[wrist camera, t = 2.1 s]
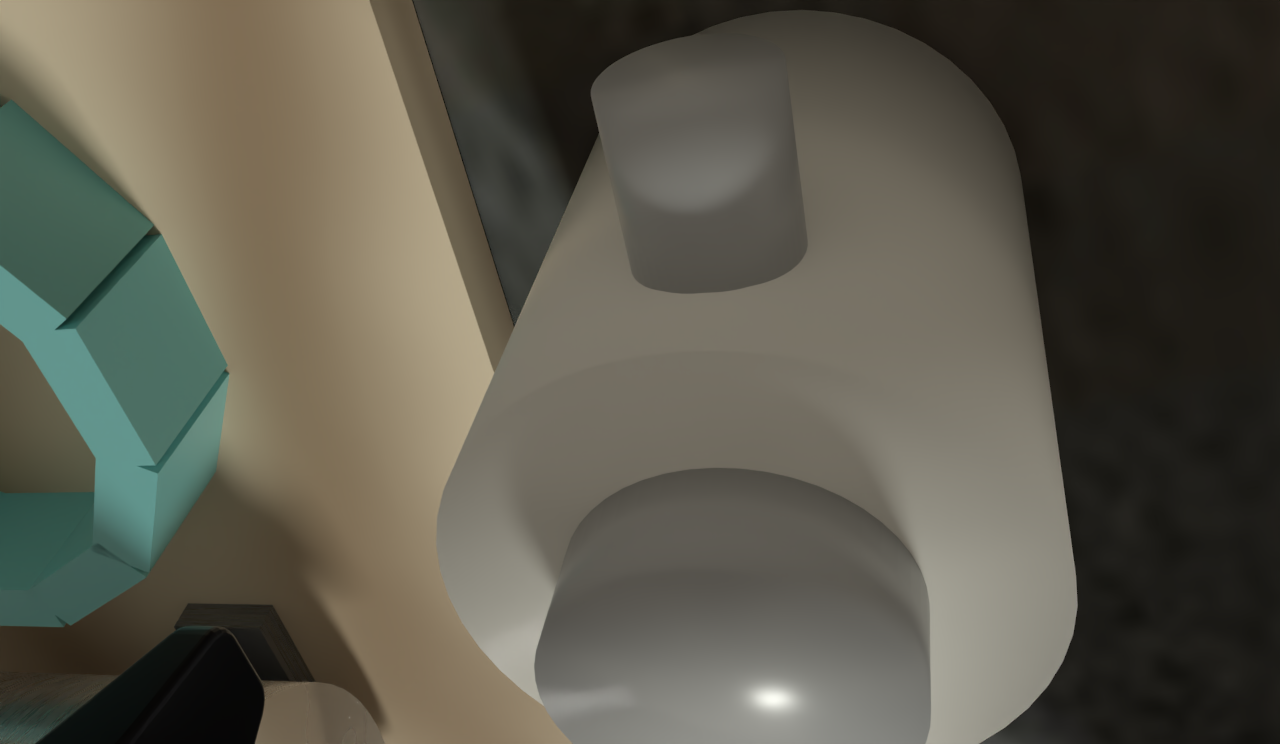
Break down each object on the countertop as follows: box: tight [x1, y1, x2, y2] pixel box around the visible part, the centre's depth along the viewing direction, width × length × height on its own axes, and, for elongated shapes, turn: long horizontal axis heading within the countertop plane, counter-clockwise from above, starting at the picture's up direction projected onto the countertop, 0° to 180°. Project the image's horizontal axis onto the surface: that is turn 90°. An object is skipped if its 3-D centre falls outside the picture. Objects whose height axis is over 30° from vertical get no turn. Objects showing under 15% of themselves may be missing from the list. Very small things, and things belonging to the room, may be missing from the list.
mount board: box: [0, 0, 573, 744], centre depth 20 cm, size 18×17×1 cm
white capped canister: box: [436, 10, 1078, 744], centre depth 11 cm, size 5×7×7 cm
